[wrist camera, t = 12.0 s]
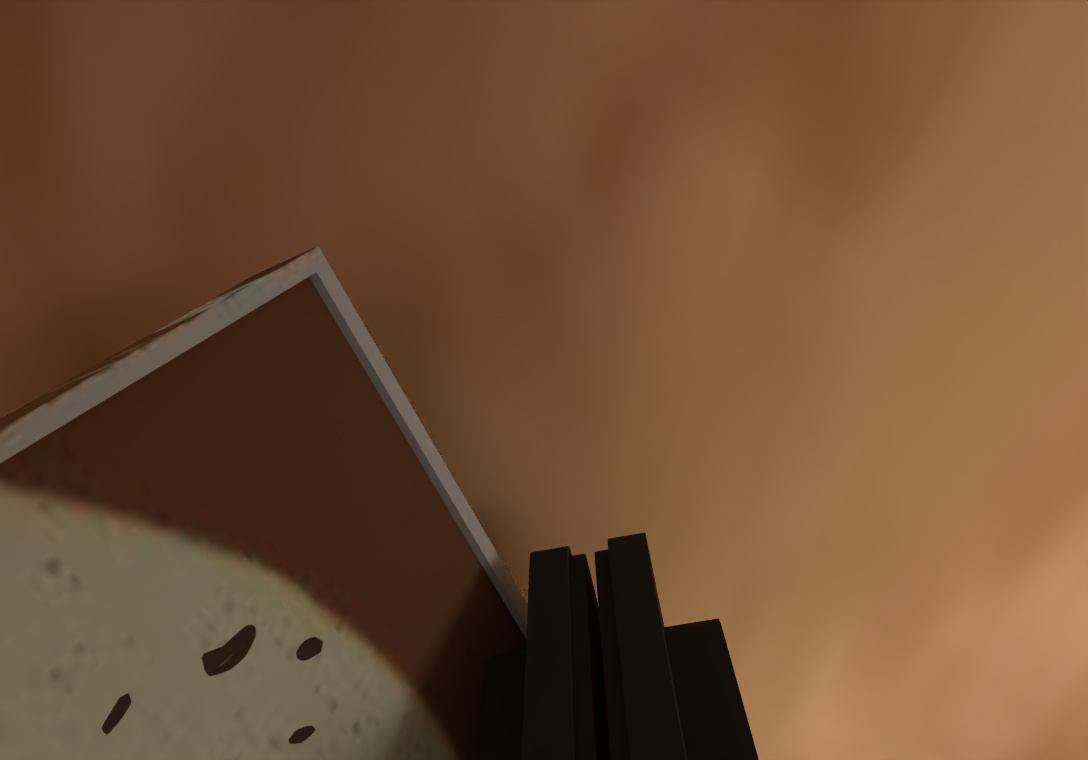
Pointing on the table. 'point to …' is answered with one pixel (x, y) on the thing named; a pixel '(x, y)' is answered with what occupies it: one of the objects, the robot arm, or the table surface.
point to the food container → (243, 550)
